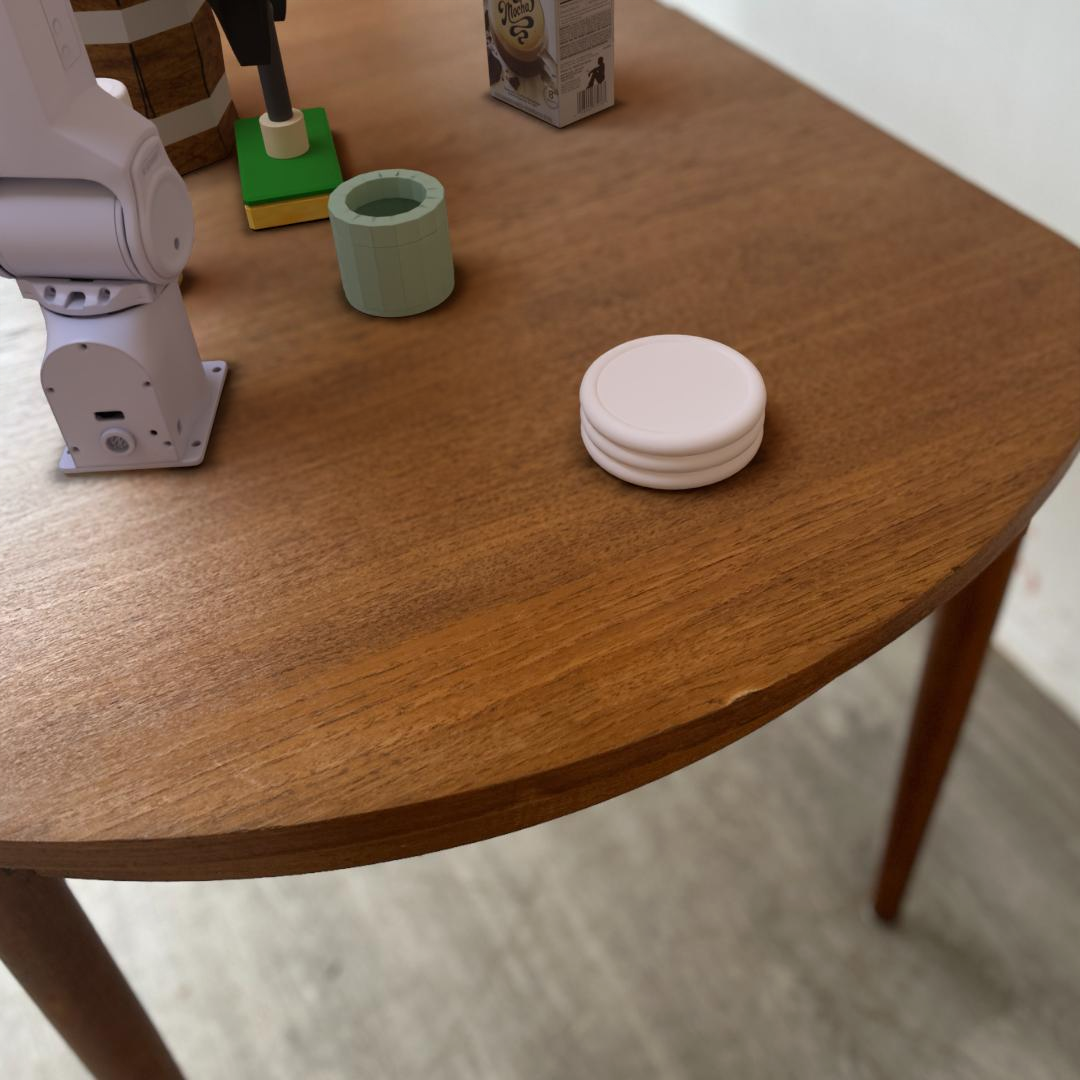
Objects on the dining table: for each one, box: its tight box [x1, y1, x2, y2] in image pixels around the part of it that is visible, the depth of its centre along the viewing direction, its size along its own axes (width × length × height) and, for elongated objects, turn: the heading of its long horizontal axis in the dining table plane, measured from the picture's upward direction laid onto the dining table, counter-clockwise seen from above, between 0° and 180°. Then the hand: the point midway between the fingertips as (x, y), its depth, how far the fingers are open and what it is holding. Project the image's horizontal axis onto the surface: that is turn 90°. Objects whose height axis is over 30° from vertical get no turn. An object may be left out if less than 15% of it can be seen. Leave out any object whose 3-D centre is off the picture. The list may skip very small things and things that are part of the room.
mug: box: [70, 0, 241, 177], centre depth 93 cm, size 20×14×15 cm
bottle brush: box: [256, 3, 309, 159], centre depth 85 cm, size 3×3×11 cm
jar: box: [328, 168, 456, 318], centre depth 76 cm, size 7×7×6 cm
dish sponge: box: [234, 106, 345, 230], centre depth 89 cm, size 7×14×2 cm, turn 13°
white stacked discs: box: [578, 334, 768, 491], centre depth 65 cm, size 10×10×4 cm
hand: (263, 41), depth 83 cm, fingers open, 7 cm apart
